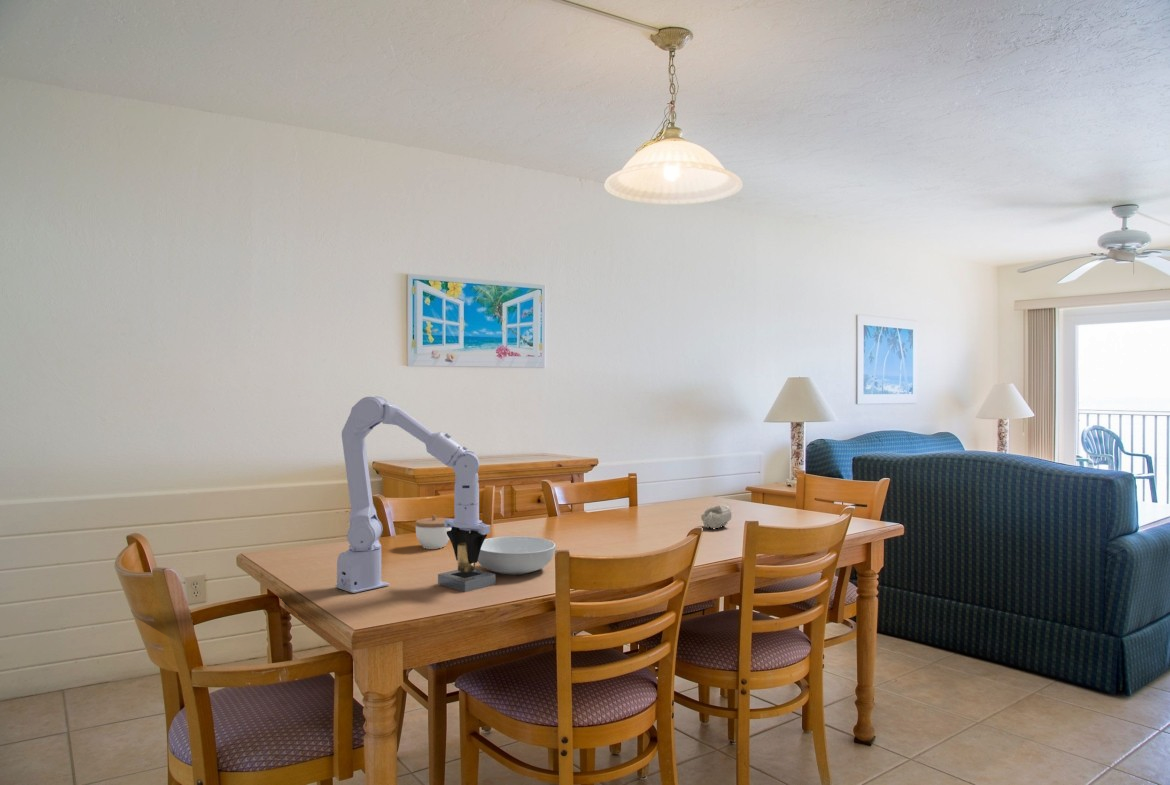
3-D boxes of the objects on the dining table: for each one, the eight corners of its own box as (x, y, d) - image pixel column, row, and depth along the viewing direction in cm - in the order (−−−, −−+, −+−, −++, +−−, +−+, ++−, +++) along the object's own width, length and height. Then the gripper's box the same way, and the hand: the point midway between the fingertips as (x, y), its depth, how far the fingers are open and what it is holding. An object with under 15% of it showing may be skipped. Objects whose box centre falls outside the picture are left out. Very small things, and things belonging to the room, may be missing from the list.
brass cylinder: (464, 572, 173) (464, 546, 173) (454, 570, 175) (453, 544, 175) (478, 569, 176) (478, 544, 176) (467, 566, 178) (467, 541, 178)
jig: (465, 591, 169) (465, 581, 169) (438, 584, 176) (438, 574, 176) (495, 584, 176) (495, 574, 176) (468, 577, 182) (468, 567, 182)
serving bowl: (496, 585, 175) (496, 556, 175) (459, 568, 192) (459, 541, 192) (571, 573, 186) (571, 546, 186) (530, 558, 204) (530, 533, 204)
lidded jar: (448, 551, 213) (448, 518, 213) (410, 550, 213) (410, 517, 213) (456, 543, 224) (456, 512, 224) (420, 543, 224) (420, 512, 224)
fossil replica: (699, 531, 246) (730, 534, 244) (701, 506, 245) (732, 509, 244) (700, 521, 258) (730, 525, 256) (702, 498, 257) (732, 501, 255)
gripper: (500, 504, 174) (500, 563, 174) (460, 498, 183) (460, 554, 183) (476, 508, 168) (476, 568, 168) (437, 502, 178) (437, 559, 178)
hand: (466, 561), depth 176 cm, fingers closed on brass cylinder, 4 cm apart
